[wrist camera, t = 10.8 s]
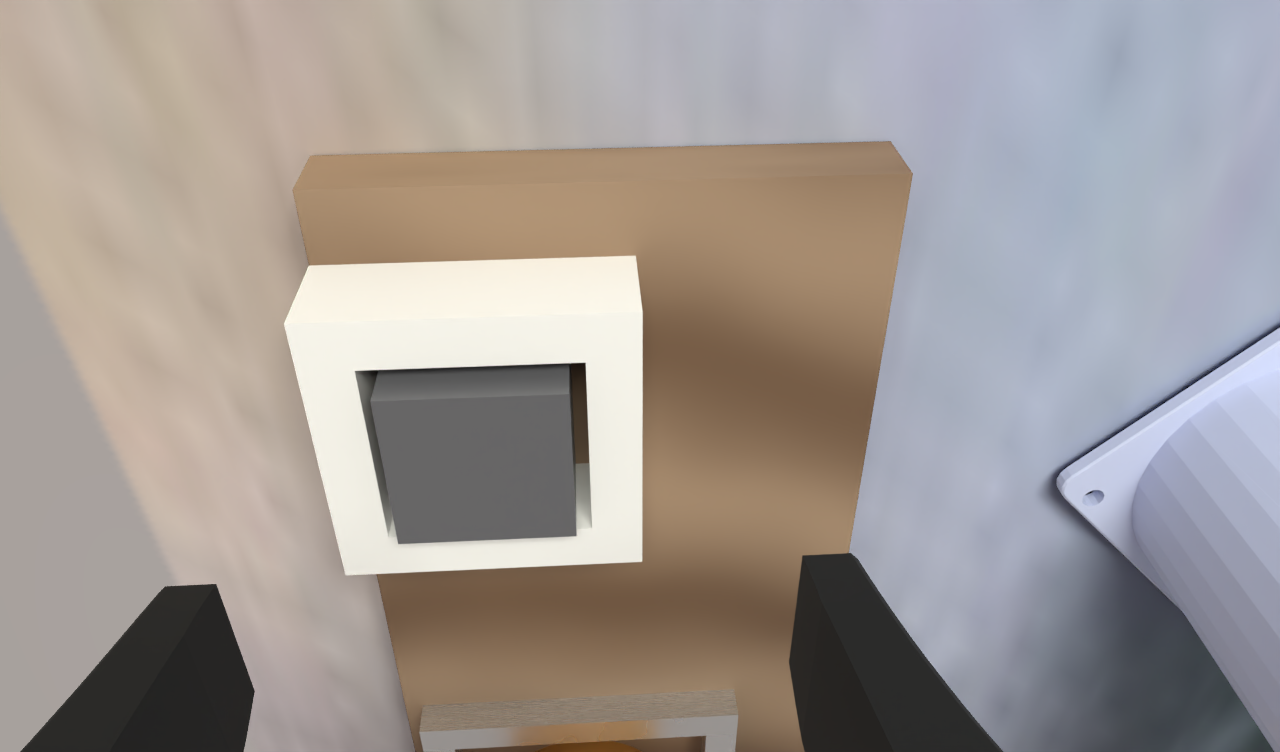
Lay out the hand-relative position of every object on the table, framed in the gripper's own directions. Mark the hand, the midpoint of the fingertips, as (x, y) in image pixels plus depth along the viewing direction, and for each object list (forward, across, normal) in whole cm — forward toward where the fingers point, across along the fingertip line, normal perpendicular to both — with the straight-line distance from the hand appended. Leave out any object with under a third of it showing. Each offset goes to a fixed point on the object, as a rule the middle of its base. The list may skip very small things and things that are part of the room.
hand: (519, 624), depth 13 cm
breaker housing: (+8, +1, +2) cm, 8 cm away
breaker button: (+8, +1, +2) cm, 8 cm away
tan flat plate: (+9, -1, +9) cm, 13 cm away
